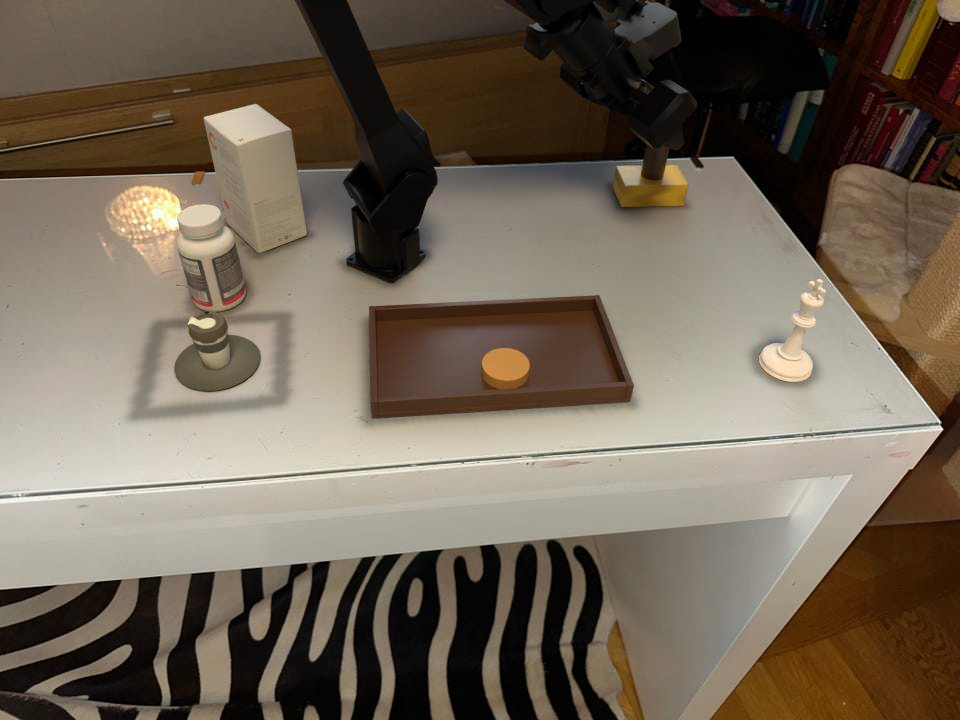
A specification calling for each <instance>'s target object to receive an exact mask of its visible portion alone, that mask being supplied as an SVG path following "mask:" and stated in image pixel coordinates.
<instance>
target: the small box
mask: <svg viewBox="0 0 960 720" xmlns="http://www.w3.org/2000/svg"><path fill="white" fill-rule="evenodd" d="M203 122H204V127H205V132H206V137H207V140H208V146H209V149H210V154H211V159H212V163H213V168H214V173H215V177H216V181H217V186H218V189H219V195H220V199H221V204H222V207H223V212H224V217H225V221H226V224H227V225H228V226H229V227H230V228H231V229H232V230H233V231H235V233H236V234H237V235H238V236H240V237H241V239H243V241H245V242H246V243H247V244H248V245H249V246H250V247H251V248H252V249H253V250H254V251H255V252H256V253H257V254H261V253H264V252H266V251H269V250H271V249H272V250H273V249H274V248H277V247H280V246H282V245H285V244H287V243H290V242H294V241H296V240H298V239H301V238H303V237H306V236H307V235H308V231H307V224H306V217H305V211H304V204H303V197H302V190H301V185H300V184H301V183H300V178H299V172H298V164H297V158H296V157H297V156H296V152H295V145H294V138H293V132H292V128H290V127H289V126H288V125H286V124H285V123H283V122H282V121H281V120H279V119H278V118H276V117H275V116H274V115H272V114H271V113H270V112H268V111H267V110H266V109H264V108H263V107H262V106H260V105H259V104H257V103H253V104H249V105H245V106H241V107H238V108H233V109H230V110H225V111H222V112H218V113H214V114H211V115H205V116H204V117H203Z"/></svg>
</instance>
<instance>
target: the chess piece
mask: <svg viewBox="0 0 960 720" xmlns="http://www.w3.org/2000/svg"><path fill="white" fill-rule="evenodd" d="M824 282H825V281H824V280H823V279H821V278H818V279H816V280H815V281H814V280H811V281H808V282H807V286H806V287H808V288H809V289H811V291H805V292H802V293H801V294H800V297H799V305H800V308H799V310H798V311H795V312H794V313H793V314H792V315H791V321H792V323H794V326H793V328H792V330H791V332H790V334H789V335H788V337H787V338H786V340H785V342H774V343H773V342H772V343H770V344H767V345H766V346H764V348H763V349H762V350H761V352H760V354H759V356H758V362H759V365H760V367H761V368H762V369H763V371H765V372H766V373H767V374H768V375H770V376H771V377H773V378H775V379H777V380H780V381H784V382H789V383H798V382H803V381H806V380H807V379H809V377H811V375H812V372H813V368H814V362H813V359H812V358H811V356H810V355H809V354H808V353H807V352H806V351H805V350H804V349H802V346H803V342H804V338H805V335H806V331H807V329H810V328H813V327H815V326H816V325H817V324H816V323H817V320H816V317H815V316H814V315H815V314H816V312H818V310H819V309H821V308H822V307H823V305H824V304H825V300H824V297H825V296H826V294H827V290H826V289H825V288H823V284H824Z"/></svg>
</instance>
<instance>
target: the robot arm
mask: <svg viewBox="0 0 960 720" xmlns="http://www.w3.org/2000/svg"><path fill="white" fill-rule="evenodd" d="M294 2H295V4H296V5H297V8H298V10H299V12H300V14H301V17H302V19H303V20H304V22H305V25H306V26H307V28H308V30H309V32H310V34H311V36H312V38H313V40H314V42H315V44H316V46H317V48H318V50H319V53H320V55H321V57H322V58H323V60H324V63H325V64H326V66H327V69H328V71H329V73H330V75H331V77H332V79H333V81H334V83H335V85H336V87H337V89H338V91H339V94H340V95H341V97H342V99H343V102H344V103H345V105H346V108H347V110H348V112H349V113H350V116H351V117H352V120H353V124H354V132H355V142H356V146H357V149H358V153H359V157H360V159H359V161H358V162H357V163H356V165H354V167H353V168H352V169H351V171H350V172H349V173H348V174H347V175H346V177H344V179H343V180H342V185H343V187H344V189H345V191H346V192H347V194H348V196H349V198H350V199H352V200H353V202H354V203H355V205H354V206H352V207H351V208H350V212H351V222H352V232H353V243H354V244H353V245H354V252H353V253H352V254H350V255H349V256H348V257H346V258H345V263H346V265H348V266H350V267H353V268H355V269H358V270H359V271H362V272H364V273H367V274H369V275H371V276H373V277H377V278H379V279H380V280H383V281H385V282H387V283H395V282H396V281H397V280H398V279H399V278H401V277H402V276H403V275H404V274H405V273H407V272H408V271H410V270H411V269H412V268H413V267H415V266H416V265H417V264H418V263H419V262H420V261H422V260H423V259H424V258H425V257H426V255H427V254H426V253H427V252H426V250H424V249H423V248H420V247H421V244H420V243H421V240H420V239H421V238H420V229H419V226H420V223H421V221H422V217H423V215H424V211H425V209H426V206H427V203H428V200H429V199H430V197H431V195H432V194H433V193H434V190H435V188H436V187H437V186H438V184H439V177H438V172H437V169H436V168H440V167H441V163H440V161H439V160H438V159H437V158H436V156H434V154H433V152H432V148H431V143H430V139H429V135H428V133H427V131H426V130H425V129H424V128H423V127H422V125H421V124H420V123H419V122H418V121H416V120H415V118H414V117H413V116H412V115H411V114H410V113H409V112H408V111H407V110H406V109H405V108H404V107H402V108H400V109H399V110H398V111H397V112H396V109H395V107H394V105H393V103H392V101H391V98H390V96H389V93H388V91H387V89H386V87H385V84H384V82H383V80H382V76H381V75H380V73H379V70H378V68H377V66H376V64H375V61H374V59H373V56H372V54H371V52H370V50H369V47H368V45H367V42H366V41H365V38H364V36H363V34H362V31H361V29H360V27H359V24H358V22H357V20H356V18H355V15H354V13H353V11H352V8H351V7H350V3H349V1H348V0H294ZM503 2H505V3H506V4H508V5H509V6H510V7H513V8H514V9H515V10H517V11H519V12H520V13H521V14H523V15H525V16H526V17H528V18H529V19H531V20H532V21H534V22H535V23H532V24H527V25H526V27H525V29H526V34H525V36H524V39H523V40H524V41H523V45H522V46H523V49H524V50H525V51H526V52H528V53H529V54H531V55H532V56H533V57H535V58H536V59H537V60H539V61H541V62H542V61H545V60H546V58H547V57H548V56H549V55H550V54H551V53H552V52H554V53H555V54H556V55H557V56H558V58H559V59H560V60H561V61H562V64H561V65H560V69H559V78H560V79H561V80H562V82H563V83H564V84H565V85H566V86H567V87H568V88H570V89H571V90H572V91H574V92H575V93H577V94H578V95H579V96H581V97H582V98H583V99H584V100H587V101H589V102H591V103H594V104H596V105H599V106H601V107H604V108H606V109H608V110H609V112H616V113H619V114H621V115H624V116H626V117H629V118H628V125H627V127H628V129H629V130H630V131H631V132H632V133H633V134H634V135H635V136H636V137H637V138H638V139H639V140H640V141H642V142H643V143H645V145H646V144H648V145H649V146H651V147H652V148H653V149H657V148H661V147H666V148H670V149H671V150H676V151H678V150H680V149H681V148H682V147H683V146H684V145H685V137H684V132H683V127H682V126H683V124H684V123H685V122H686V121H687V120H688V119H689V117H691V115H692V114H693V113H694V112H695V111H696V110H697V107H698V105H697V104H698V101H697V100H696V99H695V97H694V96H693V95H692V93H691V92H690V91H689V90H687V89H686V88H684V87H683V86H680V84H678V83H676V82H674V81H672V80H671V79H665V80H659V81H658V82H657V84H656V85H655V86H653V85H652V84H651V83H649V82H648V81H646V80H644V79H643V77H644V78H646V77H648V76H649V75H650V73H652V71H653V70H654V69H655V68H654V66H653V65H652V63H651V61H654V60H656V59H657V58H659V57H660V56H661V55H663V54H665V53H667V51H669V50H671V49H672V48H676V47H677V46H679V45H680V44H681V42H682V35H681V29H680V23H679V22H680V21H679V18H678V12H676V11H675V10H673V9H671V8H670V7H667V6H666V5H663V4H662V3H660V2H655V1H654V2H650V1H649V0H645V1H644V2H643V4H642V3H641V2H640V1H639V0H503ZM594 2H595V3H596V4H597V5H598V6H599V7H601V9H602V10H604V11H605V12H607V13H609V14H614V13H615V11H616V16H615V22H616V26H615V27H614V29H613V27H612V26H611V24H610V23H609V22H608V21H607V19H606V18H605V17H604V15H603V14H602V12H601V11H600V10H599V9H598V7H597V6H596V5H595V4H594Z"/></svg>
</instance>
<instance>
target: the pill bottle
mask: <svg viewBox="0 0 960 720" xmlns="http://www.w3.org/2000/svg"><path fill="white" fill-rule="evenodd" d="M224 222H225V221H224V218H223V215H222V212H221V210H220V209H219V208H218V207H217V206H215V205H213V204H205V203H203V204H195V205H191V206H187V207H186V208H184V209H182V210H181V211H180V212H179V213H178V214H177V223H178V228H179V231H180V234H179V235H178V237H177V240H176V249H177V250H176V251H177V253H178V256H179V259H180V263H181V267H182V269H183V274H184V276H185V280H186V284H187V287H188V291H189V293H190V297H191V300H192V303H193V304H194V306H195V307H197V308H198V309H200V310H203V311H204V312H206V311H213V312H218V313H219V312H223V311H227V310H230V309H232V308H235V307H236V306H238V305H240V304H241V303H242V302H243V300H244V299H245V297H246V294H247V288H246V283H245V279H244V274H243V270H242V269H243V268H242V265H241V261H240V257H239V251H238V248H237V243H236V238H235V236H234V233H233V231H232V230H231V229H230V228H229V227H227V226H226V225H224V224H225V223H224Z"/></svg>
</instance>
